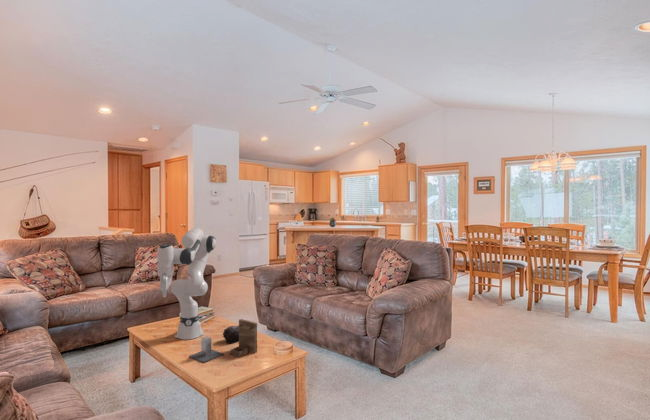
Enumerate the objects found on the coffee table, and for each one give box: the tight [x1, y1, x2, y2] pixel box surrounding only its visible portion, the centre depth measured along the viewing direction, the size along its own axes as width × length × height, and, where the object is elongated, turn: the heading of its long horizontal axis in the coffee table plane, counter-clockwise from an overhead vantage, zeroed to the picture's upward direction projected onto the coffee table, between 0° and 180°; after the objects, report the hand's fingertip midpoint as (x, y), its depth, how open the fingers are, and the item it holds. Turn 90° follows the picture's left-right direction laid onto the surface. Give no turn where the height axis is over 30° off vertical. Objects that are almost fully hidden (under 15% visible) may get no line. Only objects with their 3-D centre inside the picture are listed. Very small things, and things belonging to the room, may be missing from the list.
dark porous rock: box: [222, 325, 239, 344], centre depth 245 cm, size 10×18×10 cm, turn 149°
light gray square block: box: [200, 336, 212, 357], centre depth 218 cm, size 4×4×10 cm
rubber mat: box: [188, 348, 224, 364], centre depth 218 cm, size 14×14×1 cm
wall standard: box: [230, 318, 258, 358], centre depth 223 cm, size 12×14×18 cm
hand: (165, 295), depth 215 cm, fingers open, 8 cm apart
